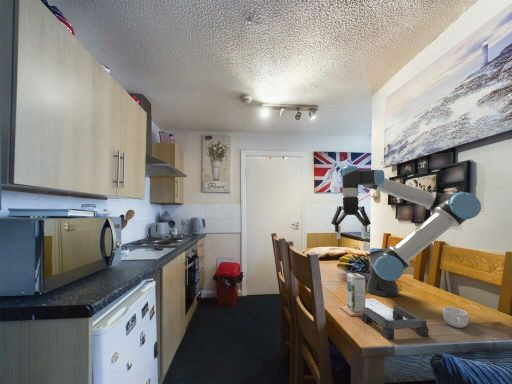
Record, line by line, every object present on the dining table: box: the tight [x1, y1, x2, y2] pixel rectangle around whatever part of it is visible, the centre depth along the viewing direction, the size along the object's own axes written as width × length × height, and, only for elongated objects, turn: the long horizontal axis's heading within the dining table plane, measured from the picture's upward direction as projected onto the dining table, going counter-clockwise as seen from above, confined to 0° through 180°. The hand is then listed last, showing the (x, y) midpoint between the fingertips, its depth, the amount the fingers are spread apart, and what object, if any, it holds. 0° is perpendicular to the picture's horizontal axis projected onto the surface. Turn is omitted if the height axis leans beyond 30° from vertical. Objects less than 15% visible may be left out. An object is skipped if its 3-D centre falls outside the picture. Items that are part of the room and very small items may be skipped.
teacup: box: [442, 306, 469, 329], centre depth 95 cm, size 10×8×5 cm
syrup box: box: [346, 272, 366, 312], centre depth 109 cm, size 6×6×14 cm
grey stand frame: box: [362, 305, 429, 340], centre depth 93 cm, size 16×14×5 cm
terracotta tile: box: [339, 305, 364, 317], centre depth 108 cm, size 10×9×1 cm
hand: (351, 238), depth 128 cm, fingers open, 13 cm apart
